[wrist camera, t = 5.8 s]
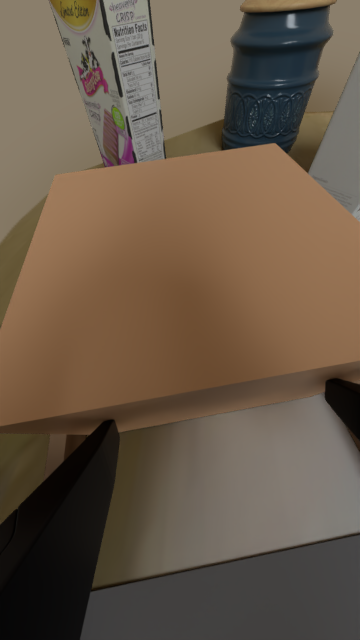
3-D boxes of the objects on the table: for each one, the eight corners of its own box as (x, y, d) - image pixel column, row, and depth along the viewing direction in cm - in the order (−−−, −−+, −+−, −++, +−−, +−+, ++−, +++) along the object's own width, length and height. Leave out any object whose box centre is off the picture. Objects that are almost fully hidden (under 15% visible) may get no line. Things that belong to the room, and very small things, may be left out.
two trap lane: (619, 890, 7) (856, 1145, 4) (10, 1065, 6) (-110, 1476, 4) (236, 205, 28) (240, 184, 25) (94, 227, 27) (85, 207, 25)
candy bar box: (107, 181, 33) (43, -8, 19) (132, 170, 35) (89, -13, 20) (144, 207, 28) (95, -18, 14) (171, 194, 30) (151, -23, 16)
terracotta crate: (310, 396, 14) (483, 337, 6) (105, 434, 14) (-37, 432, 5) (243, 257, 22) (275, 142, 13) (110, 278, 22) (55, 174, 13)
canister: (206, 152, 36) (216, -50, 21) (242, 128, 41) (270, -51, 26) (273, 169, 32) (346, -74, 17) (304, 140, 37) (383, -69, 21)
